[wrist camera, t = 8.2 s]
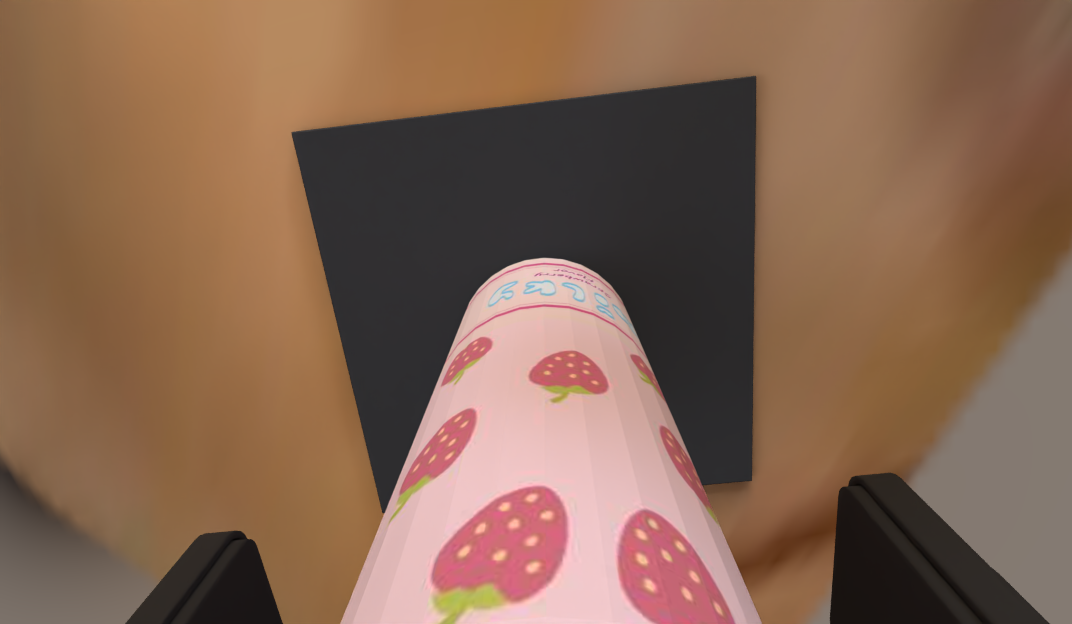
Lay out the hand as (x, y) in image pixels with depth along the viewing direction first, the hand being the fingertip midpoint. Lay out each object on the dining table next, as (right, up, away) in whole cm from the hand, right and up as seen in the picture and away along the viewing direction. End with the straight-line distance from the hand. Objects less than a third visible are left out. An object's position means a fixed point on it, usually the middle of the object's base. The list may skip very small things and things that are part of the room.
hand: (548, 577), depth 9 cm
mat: (0, +4, +10) cm, 11 cm away
